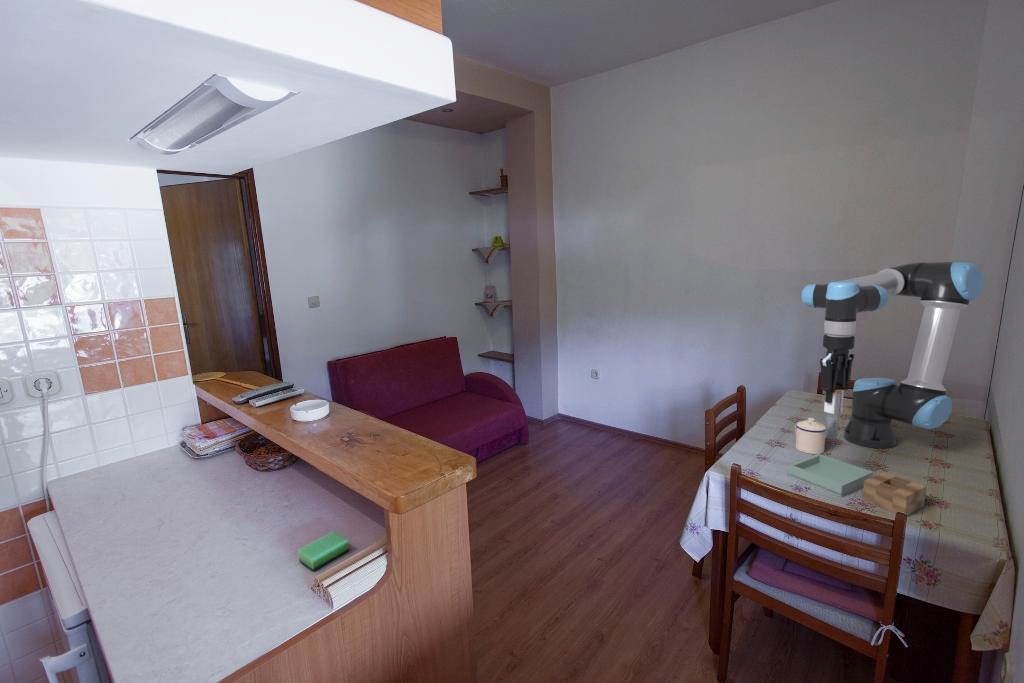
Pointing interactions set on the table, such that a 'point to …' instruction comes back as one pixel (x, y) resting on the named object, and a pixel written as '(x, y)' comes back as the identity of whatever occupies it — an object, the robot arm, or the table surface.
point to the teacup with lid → (810, 436)
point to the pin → (833, 418)
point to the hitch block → (894, 493)
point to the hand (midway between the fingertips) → (833, 411)
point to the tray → (829, 474)
